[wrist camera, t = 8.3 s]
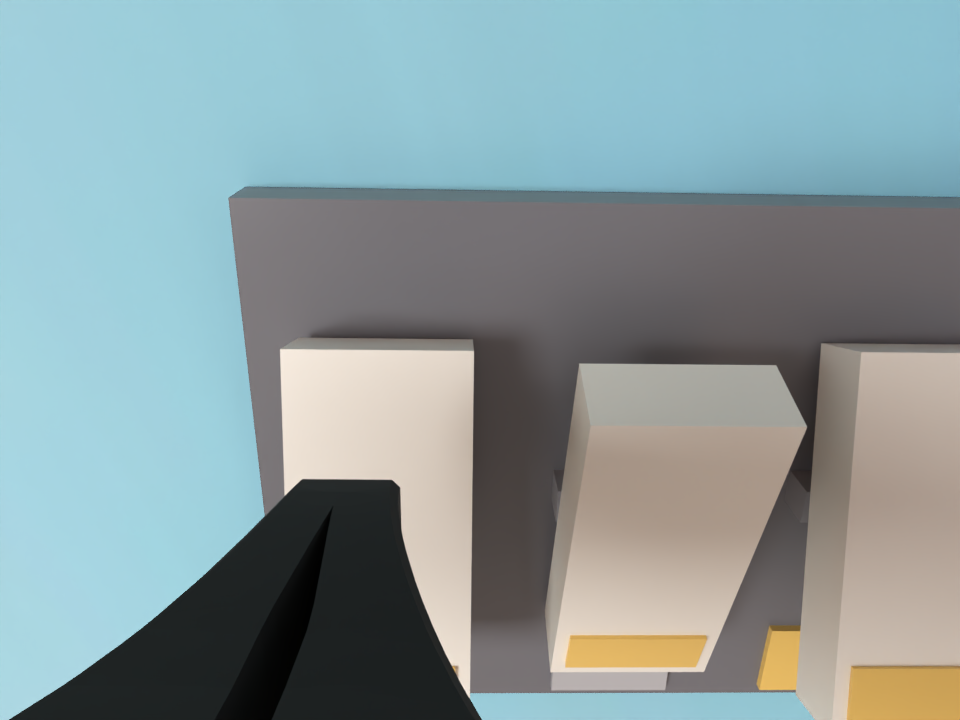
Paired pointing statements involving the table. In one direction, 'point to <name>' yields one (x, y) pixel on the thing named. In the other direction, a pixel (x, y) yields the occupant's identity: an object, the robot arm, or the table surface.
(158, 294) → the table surface
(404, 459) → the rocker
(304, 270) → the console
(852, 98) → the table surface
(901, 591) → the block
